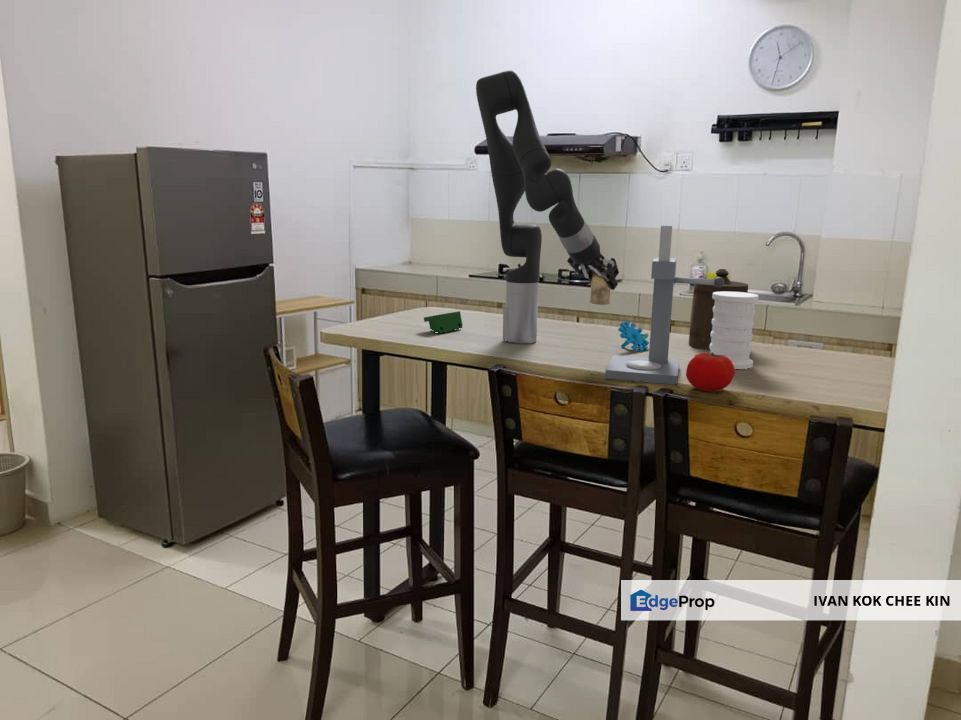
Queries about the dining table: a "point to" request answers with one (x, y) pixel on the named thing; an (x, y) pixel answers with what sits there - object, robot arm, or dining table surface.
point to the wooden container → (708, 308)
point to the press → (657, 323)
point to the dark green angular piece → (445, 322)
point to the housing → (599, 290)
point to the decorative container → (733, 326)
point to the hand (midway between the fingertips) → (605, 285)
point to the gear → (633, 336)
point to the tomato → (710, 372)
